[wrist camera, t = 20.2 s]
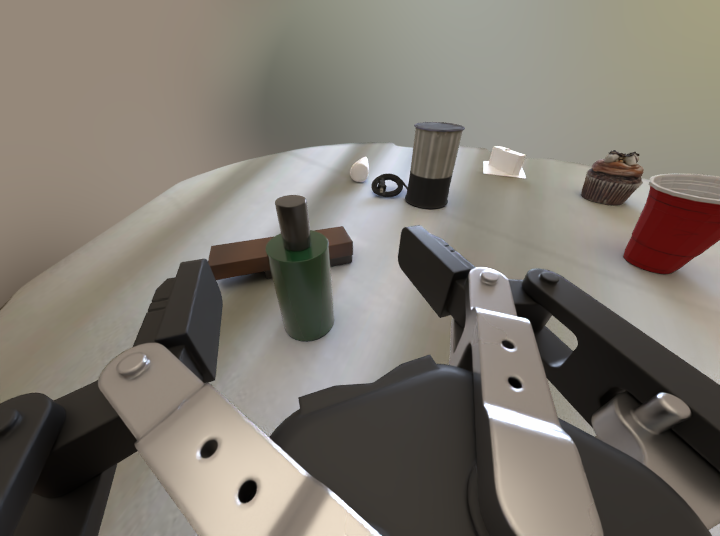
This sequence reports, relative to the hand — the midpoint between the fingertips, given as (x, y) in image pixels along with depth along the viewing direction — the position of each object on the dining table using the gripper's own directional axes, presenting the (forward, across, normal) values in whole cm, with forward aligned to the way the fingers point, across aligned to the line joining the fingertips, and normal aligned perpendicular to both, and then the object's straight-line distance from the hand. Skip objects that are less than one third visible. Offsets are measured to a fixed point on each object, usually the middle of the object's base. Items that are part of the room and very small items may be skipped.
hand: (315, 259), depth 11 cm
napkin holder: (+52, -67, +16) cm, 86 cm away
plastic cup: (+6, -50, +16) cm, 53 cm away
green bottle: (+11, 0, +16) cm, 19 cm away
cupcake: (+26, -71, +15) cm, 77 cm away
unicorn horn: (+63, -25, +16) cm, 70 cm away
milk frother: (+40, -28, +16) cm, 51 cm away
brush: (+22, 0, +16) cm, 27 cm away
